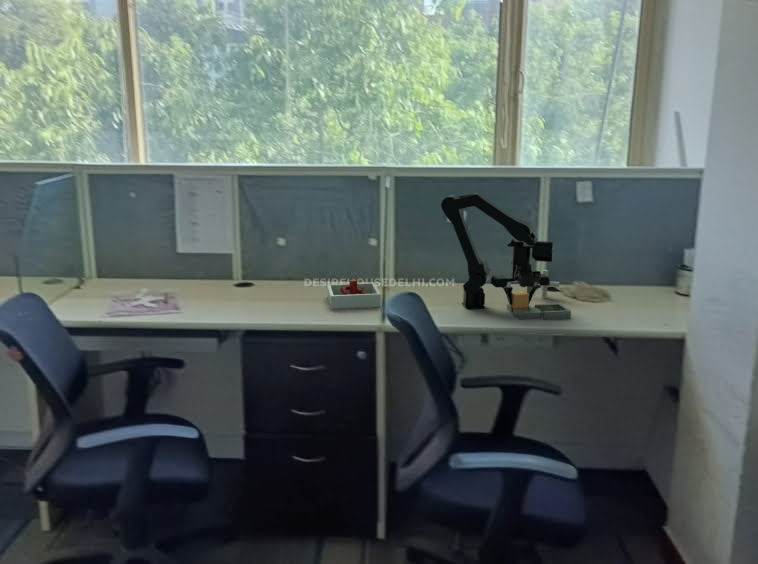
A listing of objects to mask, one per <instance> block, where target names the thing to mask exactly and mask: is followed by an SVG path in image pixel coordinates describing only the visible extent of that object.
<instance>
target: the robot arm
mask: <svg viewBox="0 0 758 564" xmlns="http://www.w3.org/2000/svg"><path fill="white" fill-rule="evenodd" d="M440 207H441V210H442V212H443V213H444V215H445V216H446V218H447V219H448V221H449V222H450V223H451V225H452V227H453V229H454V231H455V234H456V237H457V239H458V242H459V245H460V247H461V250H462V253H463V255H464V257H465V260H466V262H467V273H468V279H467V280H466V281H465V282H464V283H463V284H462V287H463V302H461V305H463V307H464V308H465V309H468V310H469V309H470V310H471V309H485V308H486V307H485V304H486V302H485V301H486V293H485V292H484V290H485V289H484V288H483V286H484V285H486V283H487V282H488V281H489V279H490V284H491V285H492V286H494V288H502V289H503V291H504V293H505V295H506V299H507V302H508V304H509V305H510V306H512V292H513V287H512V286H511V285H512V284H519V286H520V287H521V288H526V292H527V293H528V294H529V304H528V305H529V306H530V304H531V301H532V299H533V296H534V294H535V293H536V291H537V290H539V289H542V286H548V285H550V282H551V280H550V277H549V275H548V276H546V275H545V274H543V273H541V271H540V270H535V271H533V270H532V264H531V258H532V259H533V260H534V261H535V262H544V263H545V262H547V263H553V261H554V256H555V250H554V240H547V241H543V240H538V237H537V236H536V235H535V233H534V232H533V226H532V224H531V223H530V222H528V221H526V220H524V219H522V218H519V217H517V216H514V215H512V214H510V213H508V212H507V211H505V210H503V209H502V208H501V207H499V206H498V205H496V204H495V203H493V202H492V201H490V200H489V199H487V198H486V197H485V196H483V195H482V193H480V192H475V193H472V194H464V195H461V196H460V195H457V194H451V195H448V196H447V197H445V198H444V199H442V201H441V203H440ZM470 207H475V208H476V209H478V210H480V212H483V213H484V214H485V215H487V216H489V217H490V218H491V219H492V220H494V221H496V222H497V223H499V224H500V225H501V226H503V228H504V229H505V230H506V231H507V232H508V233H509V234H510V235H511V236H512V239H510V240H511V241H509V242H508V243H507V244H506V246H507V247H508V248H511V247H512V261H511V265H512V266H511V273H510V277H506V276H504V275H503V274H502V275H492V276H491V273H490V272H491V269H490V267H489V264H488V261H487V260H484V261H483V260H482V259H481V257H480V256H479V254H478V252H477V249H476V245H475V244H474V240H473V238H472V236H471V233H470V231H469V228H468V226H467V222H466V220H465V215H464V214H465V213H464V212H465V211H464V209H466V208H470ZM490 276H491V278H490ZM540 285H541V286H540ZM548 287H549V286H548Z"/></svg>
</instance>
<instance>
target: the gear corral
mask: <svg viewBox="0 0 758 564" xmlns="http://www.w3.org/2000/svg"><path fill="white" fill-rule="evenodd" d="M346 284H347V285H349V286H350V283H335V284H334V283H332V284H331V283H329V284H327V285H326V286H327V287H326V289H327V299H328V302H329V303H328V304H329V306H330V310H337V309H341V310H342V309H359V308H360V309H361V308H362V309H364V308H365V309H366V308H381V307H382V306H381V304H382V303H381V301H382V300H381V297H382V296H381V292H380V291H379V289H378V287H377V285H376V283H375V282H359V283H358V282H357V284H358V285H357V287H358V288H359V289H360V290H361V289H363V288H364V287H365V289H363V291H364V293H367V294H359V293H358V294H354V295H343V294H342V292H341V290H340V288H341V286H342V285H346ZM361 286H362V287H361ZM347 291H348V292H349V293H350V290H347Z"/></svg>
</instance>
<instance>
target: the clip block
mask: <svg viewBox="0 0 758 564" xmlns="http://www.w3.org/2000/svg"><path fill="white" fill-rule="evenodd" d="M528 304H529V305H530V303H529V294H528V293H527V291H526V290H525V291H524V290H523V291H521V290H520V291H512V307H513V308H523V307H528Z"/></svg>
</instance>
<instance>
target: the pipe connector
mask: <svg viewBox="0 0 758 564" xmlns="http://www.w3.org/2000/svg"><path fill="white" fill-rule="evenodd" d="M542 274H545V275H546V276H548V277H549V270H548V269H543V270H542ZM540 286H541V285H540ZM548 287H551V288H560V281H550V285H548V286H541V297H540V298H542V299H547V298H548V297H547V293H548Z"/></svg>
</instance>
